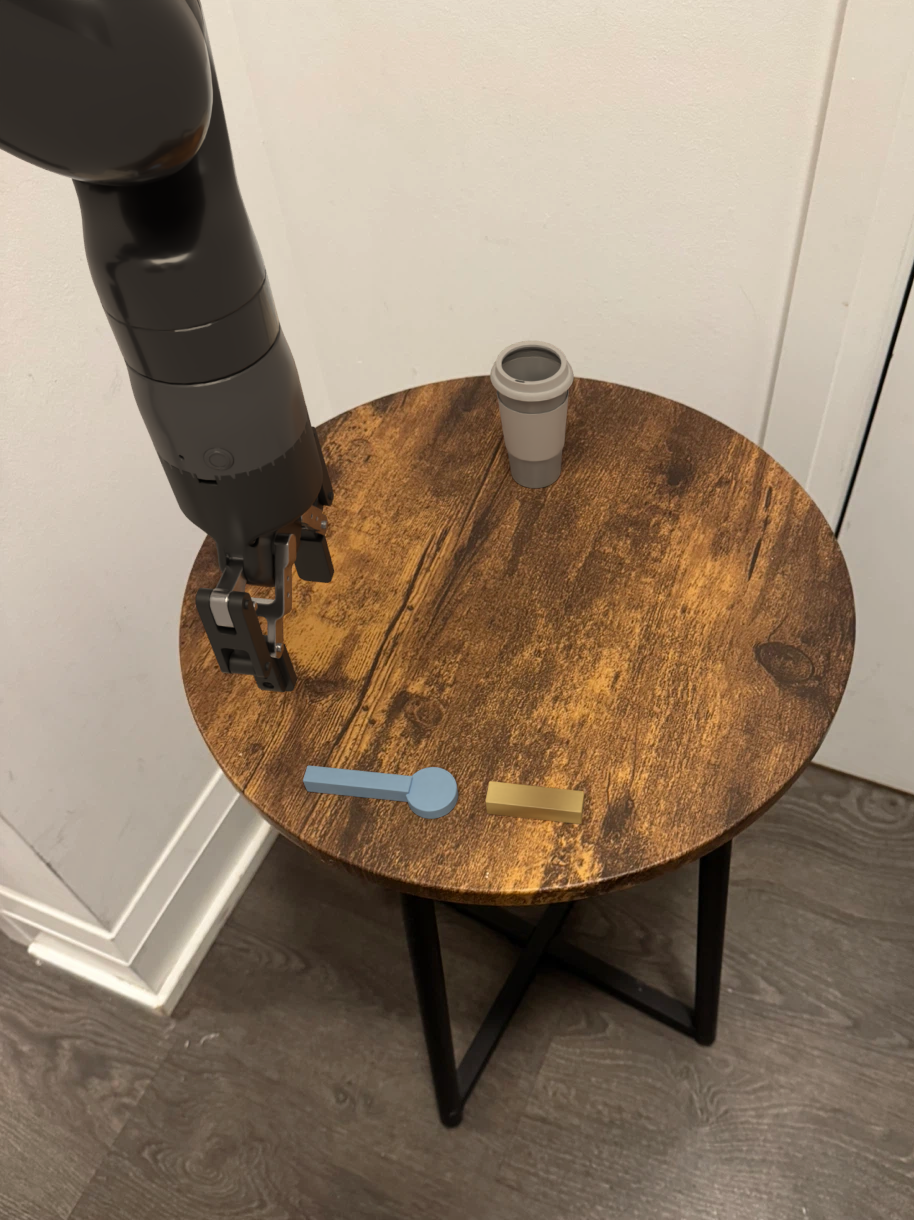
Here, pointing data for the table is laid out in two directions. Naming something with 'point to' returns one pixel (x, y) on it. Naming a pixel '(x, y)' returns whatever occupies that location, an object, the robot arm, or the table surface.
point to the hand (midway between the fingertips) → (299, 630)
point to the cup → (533, 409)
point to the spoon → (390, 787)
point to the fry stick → (535, 802)
